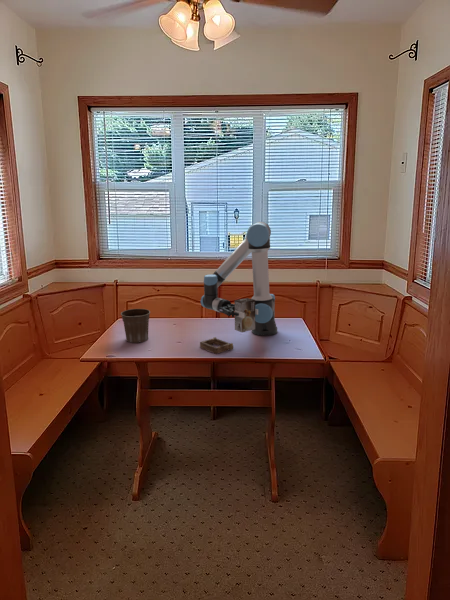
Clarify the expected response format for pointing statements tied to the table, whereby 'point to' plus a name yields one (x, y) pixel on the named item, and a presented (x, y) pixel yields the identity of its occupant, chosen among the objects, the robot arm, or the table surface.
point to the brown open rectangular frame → (222, 344)
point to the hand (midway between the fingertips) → (250, 313)
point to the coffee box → (245, 314)
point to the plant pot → (136, 324)
